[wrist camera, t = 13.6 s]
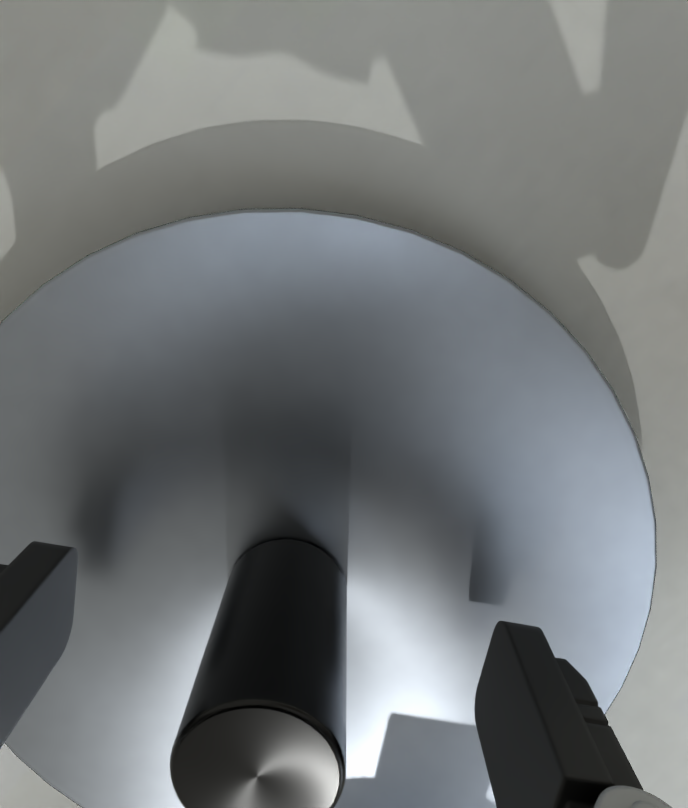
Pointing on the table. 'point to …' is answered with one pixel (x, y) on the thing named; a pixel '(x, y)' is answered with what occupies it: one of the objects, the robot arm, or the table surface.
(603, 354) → the table surface
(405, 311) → the lid
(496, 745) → the robot arm
